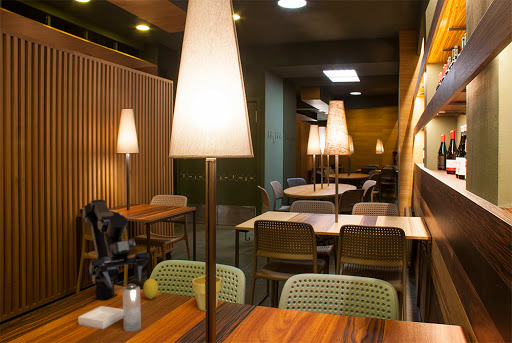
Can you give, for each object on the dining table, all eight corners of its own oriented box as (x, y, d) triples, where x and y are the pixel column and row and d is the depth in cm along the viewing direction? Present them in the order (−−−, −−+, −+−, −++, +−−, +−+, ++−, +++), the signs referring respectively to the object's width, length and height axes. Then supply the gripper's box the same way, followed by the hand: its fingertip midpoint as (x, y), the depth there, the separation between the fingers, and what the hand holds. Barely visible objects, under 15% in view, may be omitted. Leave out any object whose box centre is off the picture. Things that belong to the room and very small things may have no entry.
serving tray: (101, 313, 139) (101, 305, 139) (124, 316, 135) (124, 309, 135) (78, 324, 130) (78, 316, 129) (103, 329, 126) (102, 321, 126)
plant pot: (186, 310, 140) (185, 282, 140) (203, 300, 150) (203, 274, 149) (211, 314, 136) (211, 286, 135) (227, 304, 145) (227, 277, 144)
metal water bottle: (131, 323, 130) (129, 281, 129) (144, 325, 128) (143, 283, 127) (120, 329, 125) (118, 286, 125) (133, 332, 123) (132, 288, 123)
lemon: (140, 300, 150) (139, 279, 150) (150, 295, 155) (149, 275, 155) (151, 302, 148) (150, 281, 148) (161, 298, 153) (161, 277, 152)
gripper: (89, 234, 129) (99, 277, 121) (147, 228, 140) (159, 266, 131) (85, 254, 136) (94, 296, 127) (140, 246, 147) (151, 284, 138)
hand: (125, 285), depth 131 cm, fingers open, 9 cm apart
